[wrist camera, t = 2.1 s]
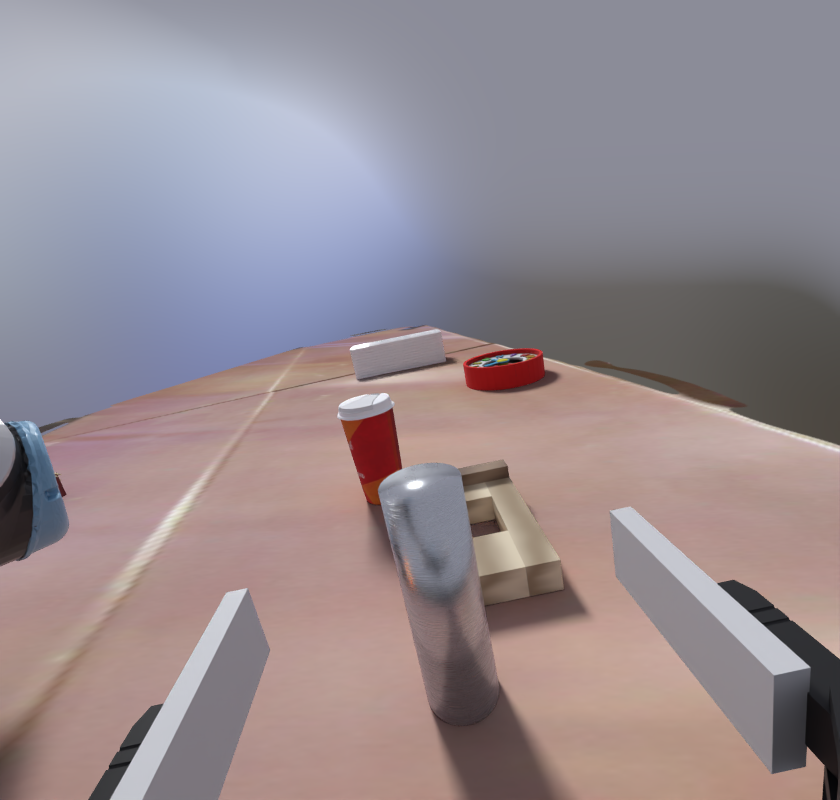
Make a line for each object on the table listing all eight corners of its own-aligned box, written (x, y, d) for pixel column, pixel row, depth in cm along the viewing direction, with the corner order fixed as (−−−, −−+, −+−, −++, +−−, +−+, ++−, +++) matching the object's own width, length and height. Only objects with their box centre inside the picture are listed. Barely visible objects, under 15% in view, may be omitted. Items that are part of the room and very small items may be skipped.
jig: (415, 620, 36) (404, 576, 34) (408, 512, 53) (401, 480, 52) (563, 589, 36) (558, 544, 35) (508, 491, 53) (503, 459, 52)
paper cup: (375, 480, 64) (354, 393, 60) (420, 481, 61) (401, 389, 57) (348, 508, 57) (322, 412, 53) (398, 511, 54) (374, 408, 50)
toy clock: (560, 350, 101) (493, 371, 94) (562, 373, 103) (496, 396, 95) (509, 346, 119) (449, 364, 112) (511, 366, 121) (452, 385, 113)
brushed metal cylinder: (430, 733, 26) (376, 511, 22) (424, 664, 31) (379, 472, 27) (507, 716, 27) (467, 492, 22) (490, 651, 31) (454, 457, 27)
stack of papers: (356, 380, 146) (349, 350, 143) (359, 374, 156) (352, 346, 154) (446, 362, 147) (440, 331, 144) (442, 357, 157) (437, 329, 154)
